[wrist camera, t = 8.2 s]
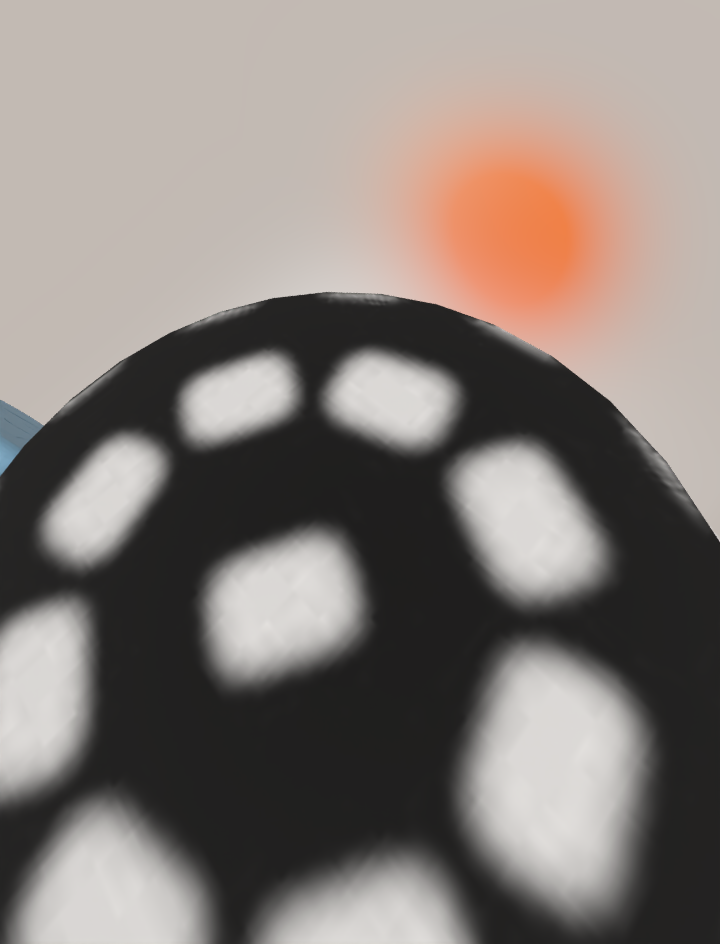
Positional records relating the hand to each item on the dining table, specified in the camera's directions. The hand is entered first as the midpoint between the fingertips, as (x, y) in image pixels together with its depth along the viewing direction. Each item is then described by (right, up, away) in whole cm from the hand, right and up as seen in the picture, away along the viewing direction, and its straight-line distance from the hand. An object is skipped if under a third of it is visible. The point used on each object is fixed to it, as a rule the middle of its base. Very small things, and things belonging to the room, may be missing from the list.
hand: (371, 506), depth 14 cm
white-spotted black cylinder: (+1, -6, +7) cm, 10 cm away
